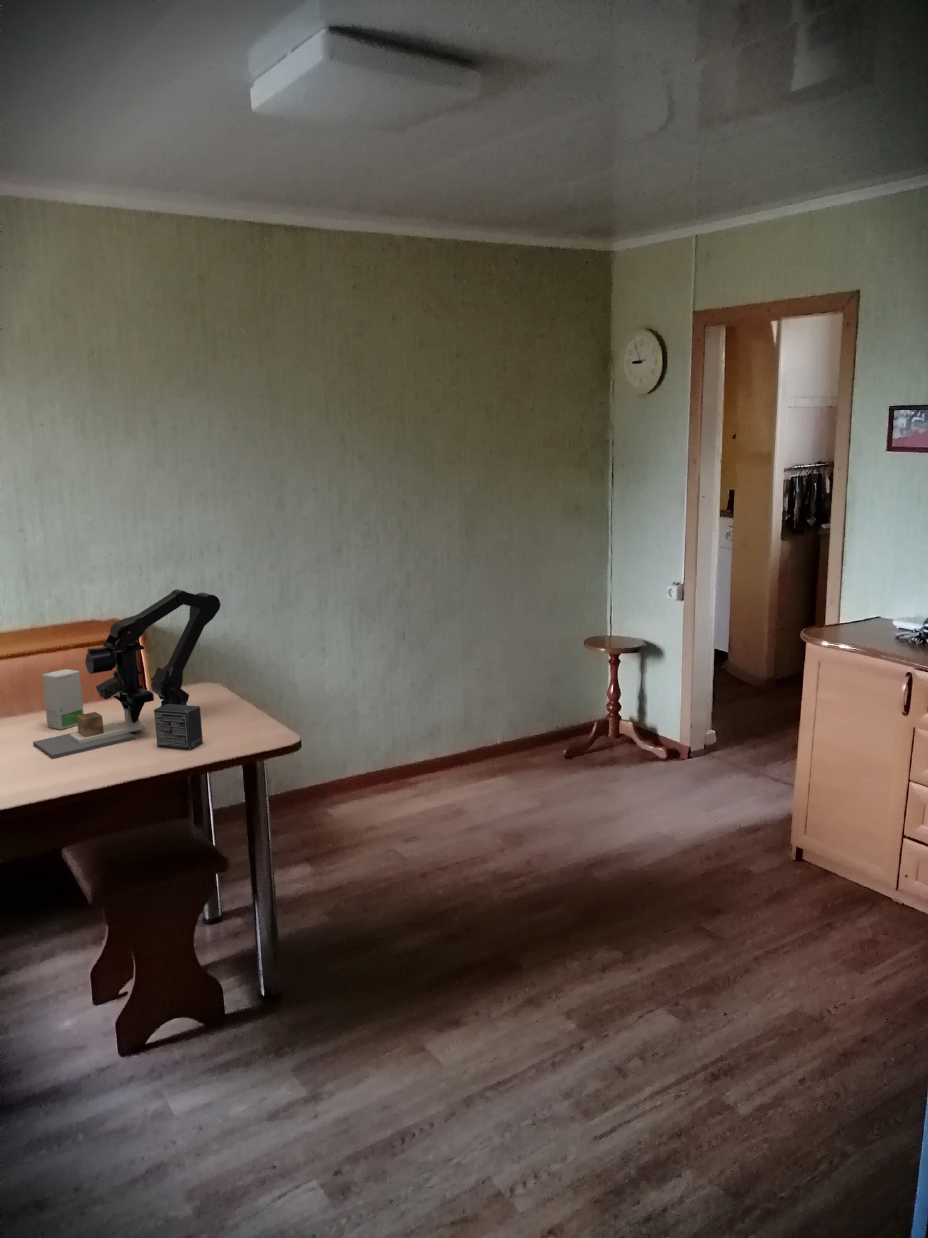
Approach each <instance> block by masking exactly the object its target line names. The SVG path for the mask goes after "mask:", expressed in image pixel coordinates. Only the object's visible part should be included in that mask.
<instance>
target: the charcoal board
mask: <svg viewBox="0 0 928 1238" xmlns="http://www.w3.org/2000/svg"><path fill="white" fill-rule="evenodd" d="M113 724H114V723H111V724H106V725H103V727H104V726H109V725H113ZM77 732H78V731H76V732H74V731H73V732H70V733H66V734H62V735H57V736H53V737H48V738H44V739H39V740H34V741H32V745H33V746H34V747H35V748H36V749H38V750H39V751H41V752H42V753H44V754H45V755H46V756H48V757H49V758H51V760H53V759H54V760H55V759H59V758H63V757H66V756H70V755H74V754H78V753H83V752H88V751H92V750H96V749H100V748H105V747H110V746H113V745H117V744H121V743H124V742H129V741H134V740H136V735H135V734H133V733H132V732H128V733H124V734H120V735H115V736H111V737H107V738H102V739H98V740H94V741H89V742H85V743H81V744H79V743H78V742H76V741H75V740H73V739H71V738H70V734H73V733H77Z"/></svg>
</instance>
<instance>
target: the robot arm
mask: <svg viewBox="0 0 928 1238" xmlns="http://www.w3.org/2000/svg"><path fill="white" fill-rule="evenodd" d="M183 605H184V606H189V615H188V616H189V617H188V618H189V619H188V621H187V623H186V625H185V626H184V627H185V628H184V629H183V630H182V631H183V632H182V634H181V636H180V638H179V640H178V642H177V643H176V646H175V648H174V650H173V652H172V653H171V656H170V658H169V660H168V662H167V664H166V665H165V666H164V667H163V668H162V667H157V668H156V669H155V673H154V675H153V677H152V678H151V679H150V680H151V689H152V691H151V690H148V689H146V688H144V686H143V684H142V683H141V682H140V681H141V680H140V675H142V670H141V669H139V660H138V652H137V651H140V650H144V649H145V647H144V646H143V645H141V644H140V643H139V641H137V640H139V639H140V638H141V637H142V636H143V635H144V633H145V631H146V630H147V629H148V628H149V627H151V626H152V625H154V624H155V623H157V622H159V621H160V620H161V619H163V618H164V617H166V616H167V615H169V614H170V613H172V612H174V611H175V610H177V609H178V608H180V607H181V606H183ZM221 605H222V604H221V602H220V599H219V597H218V596H216V595H214V594H211V593H207V592H198V593H196V594H195V593H191V592H187V591H185V590H183V589H178V588H176V589H174V590H172V591H171V592H170V593H169V594H167V595H166V596H164V597H162V598H160V599H159V600H157V602H154V603H153V604H152V605H150V606H149V607H147V608H145V609H144V610H142V611H141V612H139V613H137V614H135V615H132V616H129V617H125V618H123V619H120V620H118V621H116V622H114V623H113V624H112V625H111V626H110V629H109V634H108V636H107V638H105V639H106V640H105V641H104V643H103V645H102V646H101V647H96V648H95V647H92V648H90V647H89V648H87V650H86V651H87V653H86V656H85V660H84V662H85V667H86V669H87V670H86V671H87V672H88V674H90V675H93V674H94V675H95V674H99V673H105V672H111V671H113V669H114V668H116V669H115V670H114V671H113V673H112V676H113V677H111V678H109V679H106V680H105V681H103V682H102V683H99V684H98V685H96V686H95V689H96V690H97V693H98V695H99V697H100V698H103V699H104V700H108V699H111V698H114V699H115V700H117V701H119V702H120V704H121V707H122V709H123V710H124V709H125V708H129V712H130V716H131V720H132V723H136V722H137V720H138V717H139V718H140V714H141V712H142V710H143V707H144V705H145V703H150V702H153V701H155V699H154V698H155V697H154V694H156V695H157V697H158V699H160V700H161V701H160V703H161V705H160V706H159V707H161V706H164V705H166V704H176V705H188V701H189V698H190V694H189V693H188V692H187V691H185V690H184V689H182V686H183V682H184V681H183V680H184V670H185V668H186V666H187V664H188V662H189V660H190V657H191V656H192V654H193V651H194V650H195V647H196V645H197V643H198V641H199V639H200V637H201V635H202V633H203V630H204V628H205V627H206V626H207V625H208V624H209V622H211V621H212V620H214V617H216V615H217V614H218V612H219V611H220V609H221Z"/></svg>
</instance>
